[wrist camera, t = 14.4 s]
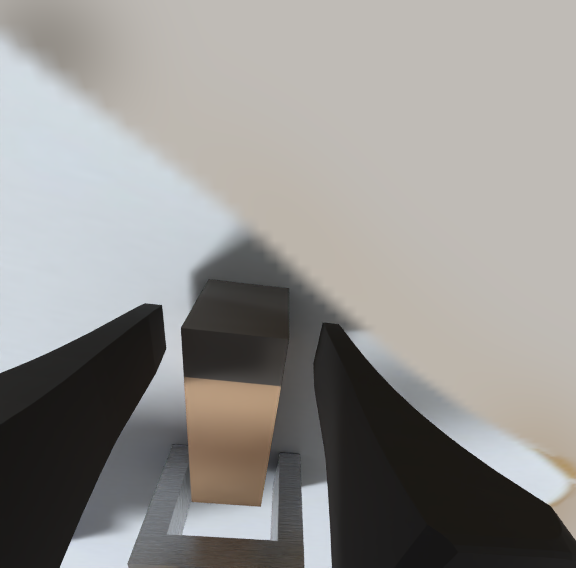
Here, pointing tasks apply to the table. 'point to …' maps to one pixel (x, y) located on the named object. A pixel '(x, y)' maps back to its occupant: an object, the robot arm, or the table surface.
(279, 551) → the housing
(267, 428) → the plug
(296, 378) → the table surface
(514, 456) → the table surface
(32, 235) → the table surface
